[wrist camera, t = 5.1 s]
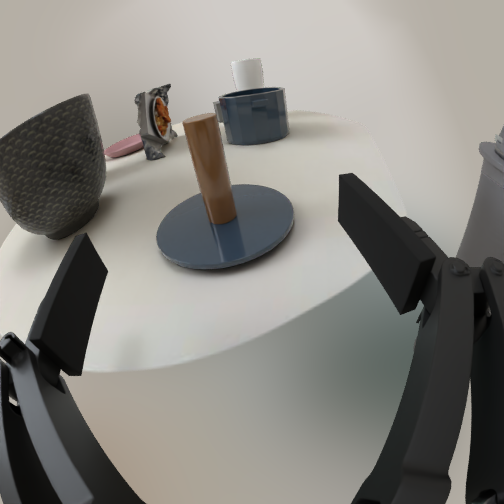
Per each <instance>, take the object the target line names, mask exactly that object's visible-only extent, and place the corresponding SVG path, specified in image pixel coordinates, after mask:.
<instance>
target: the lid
mask: <svg viewBox="0 0 504 504" xmlns="http://www.w3.org/2000/svg"><path fill="white" fill-rule="evenodd" d="M183 127H184V131H185V135H186V139H187V143H188V147H189V151H190V154H191V158H192V162H193V166H194V170H195V173H196V177H197V181H198V185H199V188H200V192H201V193H199V194H197V195H195V196H193V197H191V198H189V199H187V200H185V201H183V202H182V203H180V204H179V205H177V206H176V207H175V208H174V209H172V210H171V211H170V212H169V213H168V214H167V215H166V216H165V218H164V219H163V220H162V222H161V224H160V225H159V228H158V231H157V236H156V238H157V244H158V247H159V249H160V251H161V252H162V254H163V255H164V256H165V257H166V258H167V259H168V260H170V261H171V262H173V263H175V264H177V265H180V266H183V267H187V268H193V269H219V268H225V267H231V266H235V265H238V264H242V263H245V262H247V261H250V260H253V259H255V258H257V257H259V256H261V255H263V254H265V253H266V252H268V251H270V250H271V249H273V248H274V247H275V246H277V245H278V244H279V243H280V242H281V241H282V240H283V239H284V238H285V237H286V236H287V234H288V233H289V231H290V229H291V227H292V225H293V221H294V211H293V206H292V204H291V202H290V201H289V199H288V198H287V197H286V196H285V195H283V194H282V193H280V192H279V191H277V190H274V189H272V188H269V187H265V186H259V185H249V184H241V185H231V182H230V177H229V172H228V167H227V163H226V158H225V153H224V148H223V143H222V138H221V134H220V129H219V124H218V119H217V114H216V113H207V114H202V115H198V116H194V117H191V118H188V119H186V120H184V121H183Z"/></svg>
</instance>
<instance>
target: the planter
mask: <svg viewBox="0 0 504 504" xmlns="http://www.w3.org/2000/svg"><path fill="white" fill-rule="evenodd" d="M105 179H106V161H105V154H104V149H103V145H102V140H101V135H100V131H99V127H98V123H97V119H96V116H95V113H94V109H93V105H92V101H91V98H90V96H89V94H82V95H79V96H76V97H74V98H71V99H69V100H66V101H64V102H61V103H59V104H57V105H55V106H53V107H51V108H49V109H47V110H45V111H43V112H41V113H39V114H37V115H35V116H34V117H32V118H30V119H29V120H27V121H25V122H24V123H22V124H21V125H19V126H17V127H16V128H14V129H13V130H12V131H10V132H9V133H7V134H6V135H4V136H3V137H2V138H1V139H0V201H1V203H2V204H3V206H4V208H5V209H6V211H7V212H8V213H9V215H10V216H11V217H12V219H13V220H14V221H15V222H16V223H17V224H18V225H19V226H20V227H21V228H23V229H24V230H26V231H28V232H31V233H34V234H38V235H46V236H47V237H48V238H50V239H53V240H56V239H61V238H64V237H66V236H68V235H70V234H72V233H74V232H75V231H77V230H78V229H80V228H81V227H82V226H84V225H85V224H86V223H87V222H88V221H89V220H90V219H91V218H92V217H93V216H94V215H95V214H96V212H97V210H98V206H99V197H100V195H101V193H102V190H103V187H104V184H105Z"/></svg>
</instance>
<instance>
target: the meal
mask: <svg viewBox="0 0 504 504" xmlns="http://www.w3.org/2000/svg"><path fill="white" fill-rule="evenodd" d="M170 87H171V84H167V85H164V86H161V87H158V88H154V89H151V90H149V91H148V92H147V93H146V92H143V93H140V94H138V95H136V97H135V103H136V104H137V106H138V120H137V123H138V124H139V126H140V128H141V129H140V133H139V135H141V136H140V137H141V139H142V142H143V146H144V150H145V154H146V157H147V159H148V160H155V159H158V158H162V157H165V156H164V155H163V154H162V152H161V151H160V148H161V145H162V144H165V143H168V142H169V139H173V138H174V137H177V133H176V132H175V131H173V130H172V126H171V123H170V122H171V119H170V117H169V113H168V108H167V105H168V95H167V91H168V90H169V88H170Z"/></svg>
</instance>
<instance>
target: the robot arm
mask: <svg viewBox="0 0 504 504" xmlns="http://www.w3.org/2000/svg"><path fill="white" fill-rule="evenodd" d="M495 141H496V144H495V152H496V154H497V155H498V156H499V157H500V158H502V159H503V160H504V126H503V128H502V131H501V133H500V135H499V136H498V135H496V136H495ZM338 222H339V223H340V224H341V226H342V227H343V229H344V230H345V231H346V233H347V234H348V235H349V237H350V238H351V240H352V241H353V242H354V244H355V245H356V247H357V248H358V250H359V251H360V253H361V254H362V255H363V257H364V258H365V260H366V261H367V263H368V264H369V266H370V267H371V269H372V270H373V272H374V273H375V275H376V276H377V278H378V280H379V281H380V283H381V284H382V286H383V287H384V289H385V290H386V292H387V294H388V295H389V297H390V299H391V300H392V302H393V303H394V305H395V307H396V308H397V310H398V312H399V313H400V315H401V314H404V313H407V312H409V311H412V310H415V309H416V307H417V304H418V302H419V300H421V301H422V303H423V304H424V307H423V310H422V312H421V313H420V315H419V317H418V320H417V322H416V323H419V321H420V326H419V331H418V336H417V341H416V346H415V351H414V355H413V359H412V363H411V367H410V371H409V375H408V379H407V382H406V386H405V390H404V393H403V396H402V399H401V402H400V405H399V408H398V411H397V414H396V417H395V420H394V422H393V425H392V428H391V430H390V433H389V435H388V438H387V440H386V443H385V445H384V447H383V450H382V452H381V454H380V456H379V459H378V461H377V463H376V465H375V467H374V469H373V471H372V472H371V474H370V475H369V476H368V478H367V479H366V480H365V481H364V483H363V484H362V486H361V487H360V489H359V491H358V492H357V494H356V496H355V498H354V499H353V501H352V503H351V504H445V503H446V501H447V499H448V496H449V493H450V490H451V479H450V477H449V475H448V470H449V466H450V463H451V460H452V457H453V454H454V450H455V447H456V444H457V440H458V436H459V433H460V429H461V425H462V420H463V416H464V411H465V406H466V401H467V395H468V389H469V381H471V403H472V419H471V420H472V421H471V444H470V455H469V464H468V472H467V481H466V497H465V499H466V504H504V264H503V263H502V262H501V261H500V260H498V259H496V258H493V257H489V258H486V259H485V261H484V263H483V265H482V267H469V266H468V265H467V264H466V263H465V262H464V261H463V260H460V259H458V258H454V257H450V258H448V257H447V255H446V254H445V253H444V252H443V251H442V250H441V249H440V248H439V247H438V245H437V244H436V243H435V242H434V241H433V240H432V239H431V238H430V237H428V235H427V234H426V233H425V232H424V231H423V230H422V228H421V227H419V225H418V224H417V223H416V222H414V221H412V220H411V219H409V218H407V217H399V216H398V215H397V214H396V213H395V212H394V211H393V210H392V209H391V208H390V207H389V206H388V205H387V204H386V203H385V202H384V201H383V200H382V199H381V198H380V197H379V196H378V195H377V194H376V193H375V192H373V191H372V190H371V189H370V188H369V187H368V186H367V185H366V184H365V183H364V182H362V181H361V180H360V179H359V178H358V177H357V176H356V175H354V174H353V173H349V174H341V175H339V208H338ZM107 273H108V270H107V268H106V267H105V265H104V263H103V262H102V260H101V258H100V257H99V255H98V253H97V251H96V249H95V248H94V246H93V244H92V242H91V240H90V239H89V237H88V235H87V233H84V234H81V235H77V236H75V238H74V240H73V242H72V243H71V245H70V247H69V249H68V251H67V253H66V254H65V256H64V258H63V260H62V262H61V264H60V266H59V268H58V270H57V272H56V274H55V276H54V278H53V280H52V282H51V285H50V287H49V289H48V291H47V293H46V296H45V298H44V299H43V301H42V302H41V304H40V306H39V308H38V311H37V314H36V316H35V318H34V319H35V321H33V324H32V326H31V329H30V332H29V334H28V337H27V340H26V343H25V344H24V343H23V342H22V341H21V340H20V339H19V338H18V337H17V336H16V335H15V334H14V333H12V332H9V333H7V334H6V335H4V337H3V338H2V339H1V341H0V357H2V358H3V359H4V360H5V361H6V362H7V363H4V362H3V361H2V360H1V359H0V494H1V498H2V501H3V504H146V503H145V502H143V501H142V500H141V499H140V498H139V497H138V495H137V494H136V493H135V492H134V491H133V490H132V488H131V487H130V486H129V485H128V483H127V482H126V481H125V480H124V479H123V477H122V476H121V475H120V473H119V472H118V471H117V469H116V468H115V466H114V465H113V464H112V462H111V461H110V460H109V458H108V457H107V455H106V454H105V453H104V451H103V449H102V448H101V446H100V445H99V443H98V441H97V440H96V438H95V437H94V435H93V433H92V432H91V430H90V428H89V427H88V425H87V423H86V422H85V420H84V418H83V416H82V414H81V413H80V411H79V409H78V407H77V405H76V403H75V401H74V399H73V397H72V395H71V393H70V391H69V389H68V387H67V385H66V382H65V380H64V379H63V377H62V376H60V370H61V369H62V371H64V372H65V373H66V374H68V375H69V376H81V374H82V369H83V364H84V359H85V354H86V349H87V345H88V340H89V336H90V332H91V328H92V324H93V320H94V316H95V313H96V309H97V306H98V302H99V299H100V295H101V292H102V289H103V286H104V282H105V279H106V276H107ZM489 309H490V310H491V316H490V314H489V311H488V310H489ZM9 396H10V397H11V398H12V399H14V400H15V401H17V406H15V405H13V404H12V403H10V402H9Z"/></svg>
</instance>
